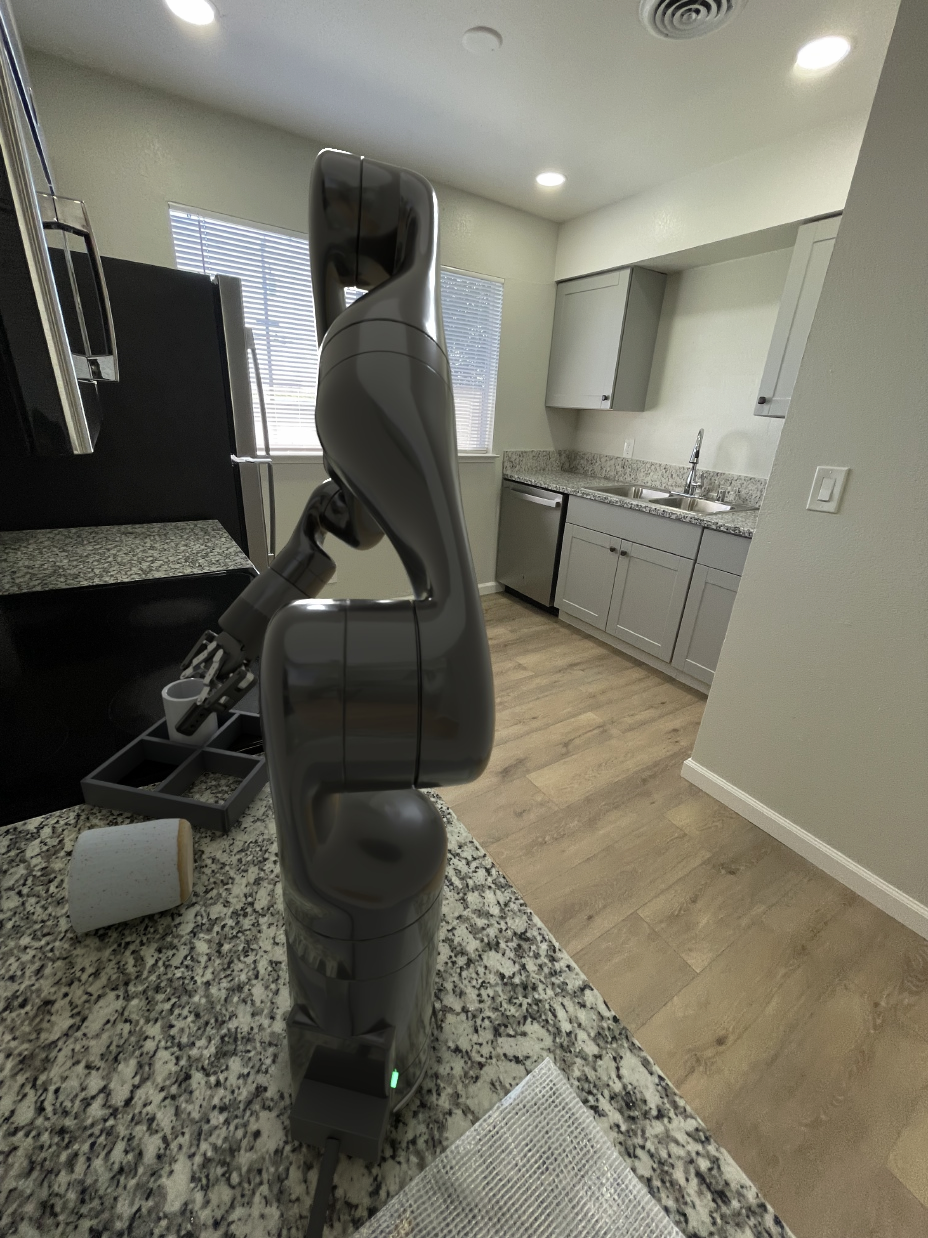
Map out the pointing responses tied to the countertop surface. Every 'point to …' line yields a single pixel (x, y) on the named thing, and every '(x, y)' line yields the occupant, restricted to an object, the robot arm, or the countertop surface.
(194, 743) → the white tumbler
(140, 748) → the dark grey divided tray
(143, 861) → the ceramic mug
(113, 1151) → the countertop surface
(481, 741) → the robot arm
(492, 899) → the countertop surface
